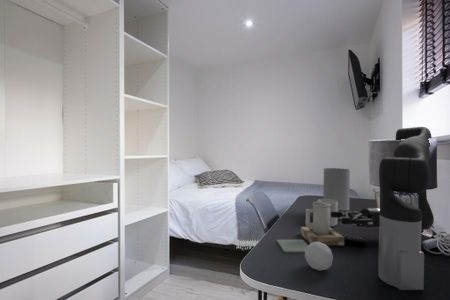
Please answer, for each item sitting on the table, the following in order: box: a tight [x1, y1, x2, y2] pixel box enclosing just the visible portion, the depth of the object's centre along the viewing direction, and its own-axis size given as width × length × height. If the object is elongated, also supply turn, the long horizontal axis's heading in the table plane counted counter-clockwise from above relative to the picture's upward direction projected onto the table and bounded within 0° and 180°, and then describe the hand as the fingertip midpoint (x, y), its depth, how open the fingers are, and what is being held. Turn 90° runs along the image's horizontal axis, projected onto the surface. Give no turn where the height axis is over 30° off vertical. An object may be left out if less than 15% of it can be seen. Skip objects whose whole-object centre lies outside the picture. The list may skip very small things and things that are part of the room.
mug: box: [316, 198, 338, 228], centre depth 116 cm, size 12×9×11 cm
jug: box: [305, 201, 331, 235], centre depth 95 cm, size 7×9×14 cm
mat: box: [276, 239, 309, 254], centre depth 88 cm, size 10×10×1 cm
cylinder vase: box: [322, 167, 351, 220], centre depth 128 cm, size 12×12×25 cm
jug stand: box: [300, 226, 345, 246], centre depth 95 cm, size 12×12×3 cm
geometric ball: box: [304, 242, 334, 272], centre depth 72 cm, size 8×8×8 cm
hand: (336, 217), depth 96 cm, fingers open, 8 cm apart
